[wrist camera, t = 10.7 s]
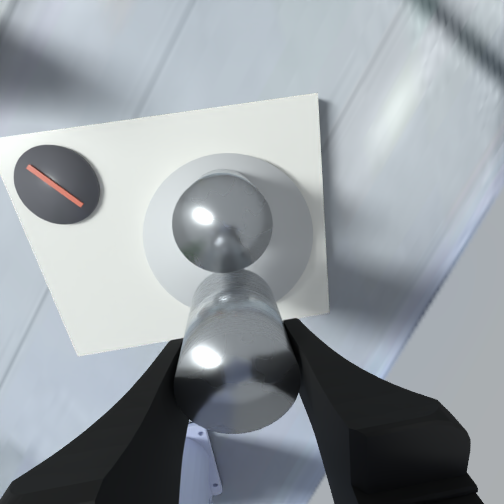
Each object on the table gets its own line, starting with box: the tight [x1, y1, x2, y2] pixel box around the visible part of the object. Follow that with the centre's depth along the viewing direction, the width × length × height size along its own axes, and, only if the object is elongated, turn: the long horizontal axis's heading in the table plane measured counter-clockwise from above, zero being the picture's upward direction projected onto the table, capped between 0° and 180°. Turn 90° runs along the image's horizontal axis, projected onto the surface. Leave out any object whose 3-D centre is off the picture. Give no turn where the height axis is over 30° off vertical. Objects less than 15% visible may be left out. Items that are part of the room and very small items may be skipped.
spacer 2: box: [174, 269, 301, 434], centre depth 12 cm, size 4×4×6 cm
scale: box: [0, 93, 330, 356], centre depth 19 cm, size 15×19×2 cm
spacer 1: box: [172, 169, 273, 273], centre depth 15 cm, size 4×4×6 cm
